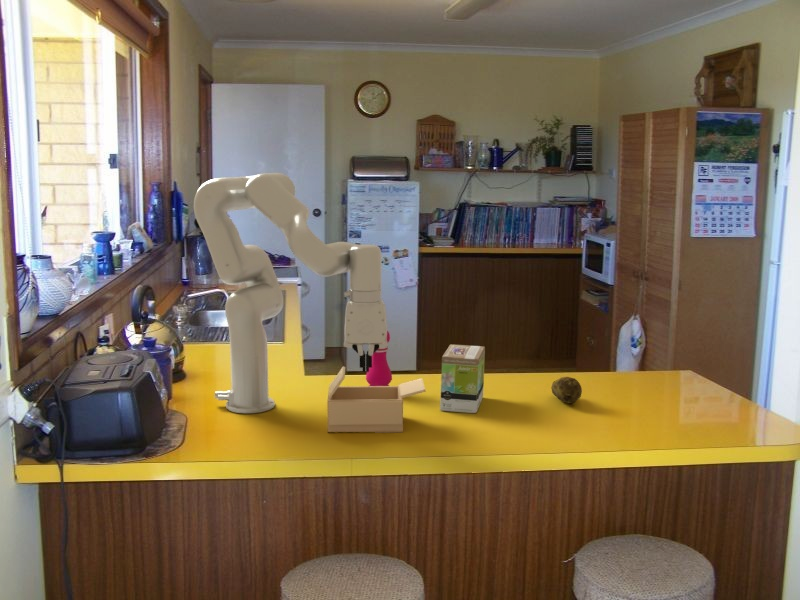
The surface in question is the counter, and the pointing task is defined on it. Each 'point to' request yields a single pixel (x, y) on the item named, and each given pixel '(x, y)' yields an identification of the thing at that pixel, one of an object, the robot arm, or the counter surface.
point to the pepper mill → (379, 368)
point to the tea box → (462, 378)
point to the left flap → (336, 382)
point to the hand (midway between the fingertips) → (365, 370)
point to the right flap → (412, 388)
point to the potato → (567, 389)
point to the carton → (365, 409)
